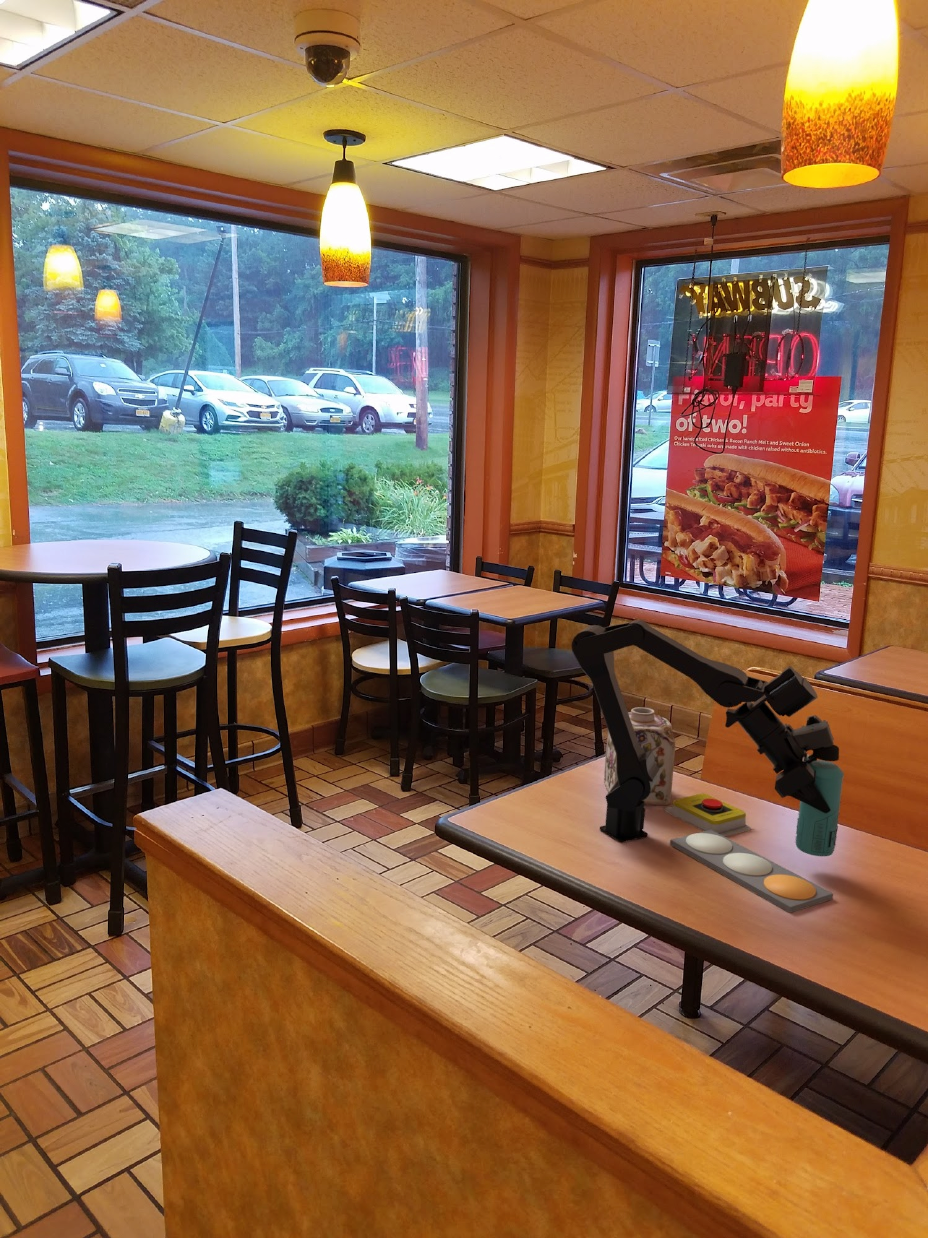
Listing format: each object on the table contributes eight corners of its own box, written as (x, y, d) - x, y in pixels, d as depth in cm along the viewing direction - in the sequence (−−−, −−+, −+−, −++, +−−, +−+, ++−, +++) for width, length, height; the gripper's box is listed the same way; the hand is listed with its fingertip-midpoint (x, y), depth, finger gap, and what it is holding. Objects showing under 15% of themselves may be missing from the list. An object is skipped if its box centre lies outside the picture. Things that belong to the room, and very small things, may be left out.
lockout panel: (789, 913, 146) (790, 905, 145) (669, 844, 168) (670, 838, 168) (832, 899, 151) (833, 891, 150) (710, 834, 173) (711, 828, 173)
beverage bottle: (829, 869, 156) (845, 754, 152) (788, 858, 159) (802, 746, 155) (837, 855, 161) (852, 744, 157) (797, 844, 165) (811, 736, 161)
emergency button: (720, 819, 171) (662, 791, 184) (718, 841, 172) (661, 812, 184) (755, 809, 176) (696, 783, 188) (753, 831, 177) (695, 803, 189)
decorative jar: (671, 806, 186) (678, 719, 183) (612, 805, 186) (619, 717, 182) (657, 784, 198) (664, 702, 194) (602, 782, 198) (608, 700, 194)
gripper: (805, 719, 148) (871, 798, 146) (809, 691, 165) (868, 761, 163) (748, 758, 152) (811, 835, 150) (757, 727, 169) (814, 796, 168)
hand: (828, 805), depth 158 cm, fingers closed on beverage bottle, 6 cm apart
